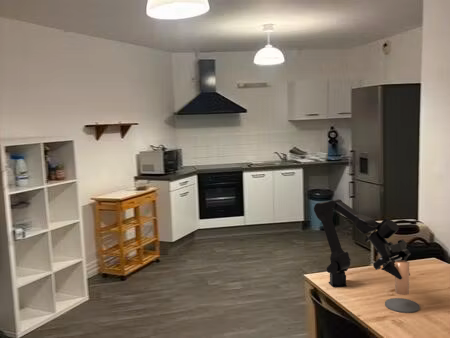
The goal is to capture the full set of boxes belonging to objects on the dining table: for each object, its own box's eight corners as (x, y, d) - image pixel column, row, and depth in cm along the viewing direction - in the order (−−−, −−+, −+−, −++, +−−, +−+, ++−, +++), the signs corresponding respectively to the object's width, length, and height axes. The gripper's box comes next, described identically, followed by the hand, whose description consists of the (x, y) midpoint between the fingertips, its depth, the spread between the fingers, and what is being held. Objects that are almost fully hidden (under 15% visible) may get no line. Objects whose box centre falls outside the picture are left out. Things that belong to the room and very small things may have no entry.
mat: (395, 314, 173) (395, 312, 173) (379, 301, 186) (379, 299, 186) (426, 311, 175) (426, 309, 175) (407, 298, 188) (407, 296, 188)
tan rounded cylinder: (396, 294, 178) (396, 263, 177) (394, 289, 183) (394, 259, 182) (410, 295, 177) (410, 264, 176) (407, 290, 182) (408, 260, 181)
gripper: (379, 237, 176) (405, 272, 168) (406, 230, 186) (431, 262, 179) (362, 253, 183) (386, 286, 175) (390, 244, 194) (413, 276, 186)
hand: (405, 277), depth 178 cm, fingers closed on tan rounded cylinder, 5 cm apart
